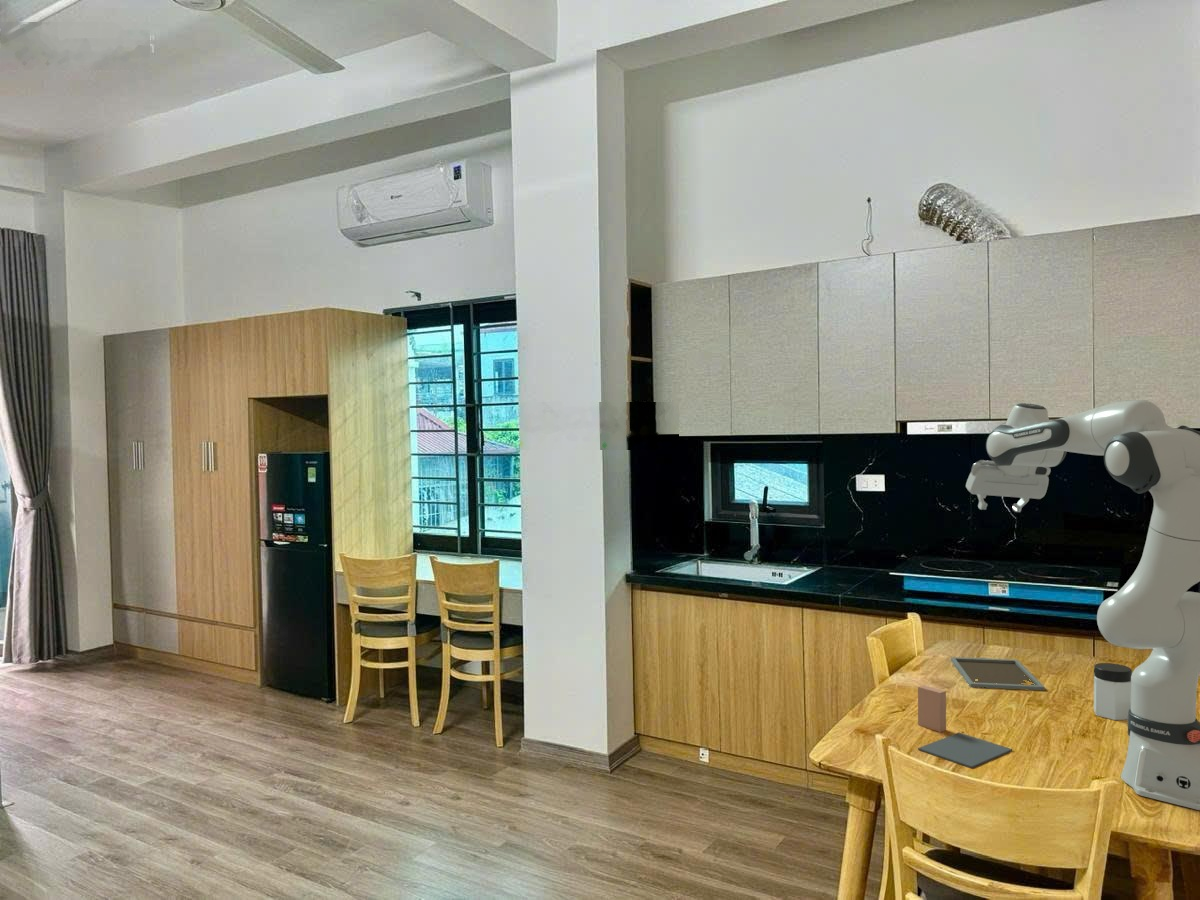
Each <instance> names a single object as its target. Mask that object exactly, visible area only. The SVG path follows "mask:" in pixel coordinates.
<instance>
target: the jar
mask: <svg viewBox="0 0 1200 900" xmlns="http://www.w3.org/2000/svg"><path fill="white" fill-rule="evenodd" d="M1132 673H1133V670H1132V668H1131V667H1129V666H1127V665H1122V664H1118V663H1111V662H1099V663H1096V664H1094V667H1093V711H1094V714H1095V716H1097V717H1101V718H1105V719H1109V720H1112V721H1125V720H1126V721H1128V711H1129V709H1131V675H1132Z"/></svg>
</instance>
